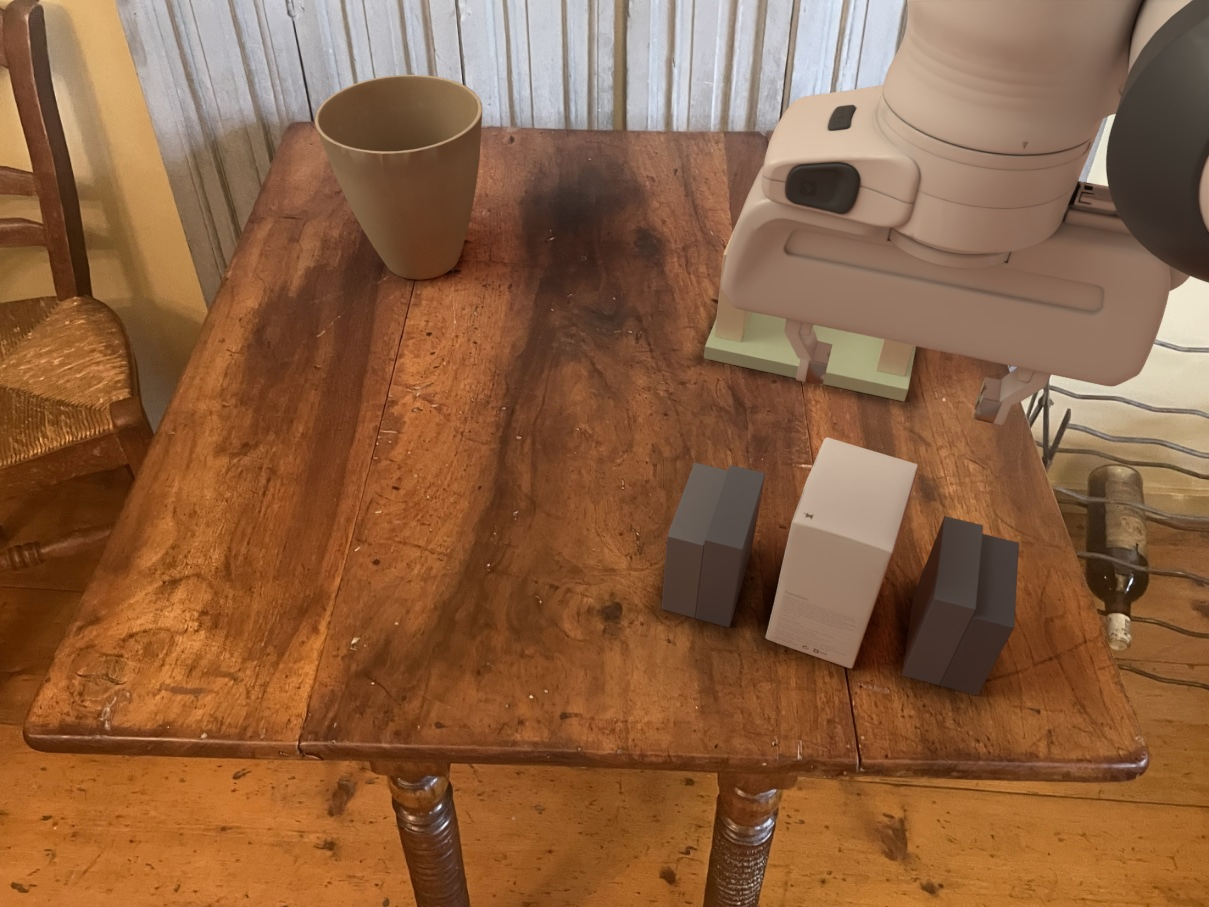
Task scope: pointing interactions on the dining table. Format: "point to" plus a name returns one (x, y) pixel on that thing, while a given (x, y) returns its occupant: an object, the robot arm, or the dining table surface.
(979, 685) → the grey bookends
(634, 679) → the dining table surface
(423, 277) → the plant pot
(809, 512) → the small box
